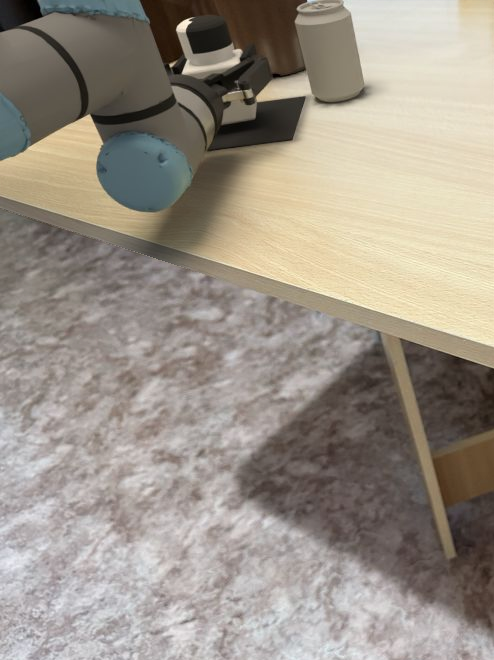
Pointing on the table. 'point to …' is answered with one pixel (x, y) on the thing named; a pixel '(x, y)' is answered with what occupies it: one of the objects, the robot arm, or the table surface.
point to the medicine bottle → (212, 57)
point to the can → (329, 50)
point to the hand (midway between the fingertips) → (222, 58)
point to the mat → (262, 125)
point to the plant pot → (266, 30)
